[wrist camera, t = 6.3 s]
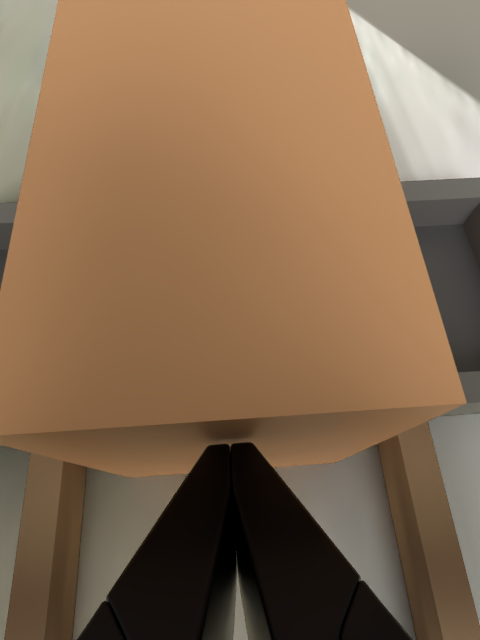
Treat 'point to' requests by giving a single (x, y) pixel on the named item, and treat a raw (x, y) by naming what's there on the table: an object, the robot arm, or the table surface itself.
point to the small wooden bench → (407, 513)
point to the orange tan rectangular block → (213, 246)
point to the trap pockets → (440, 259)
